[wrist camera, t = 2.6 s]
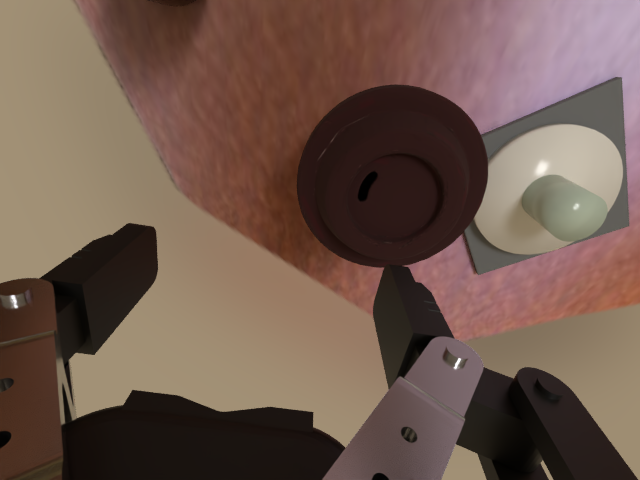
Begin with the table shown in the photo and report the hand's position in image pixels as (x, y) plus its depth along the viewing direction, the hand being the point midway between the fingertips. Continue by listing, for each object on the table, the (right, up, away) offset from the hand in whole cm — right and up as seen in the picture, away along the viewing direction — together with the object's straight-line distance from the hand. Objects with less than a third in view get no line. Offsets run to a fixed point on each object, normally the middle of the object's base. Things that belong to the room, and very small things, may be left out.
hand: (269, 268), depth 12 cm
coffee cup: (+6, +10, +18) cm, 21 cm away
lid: (+22, +5, +18) cm, 29 cm away
